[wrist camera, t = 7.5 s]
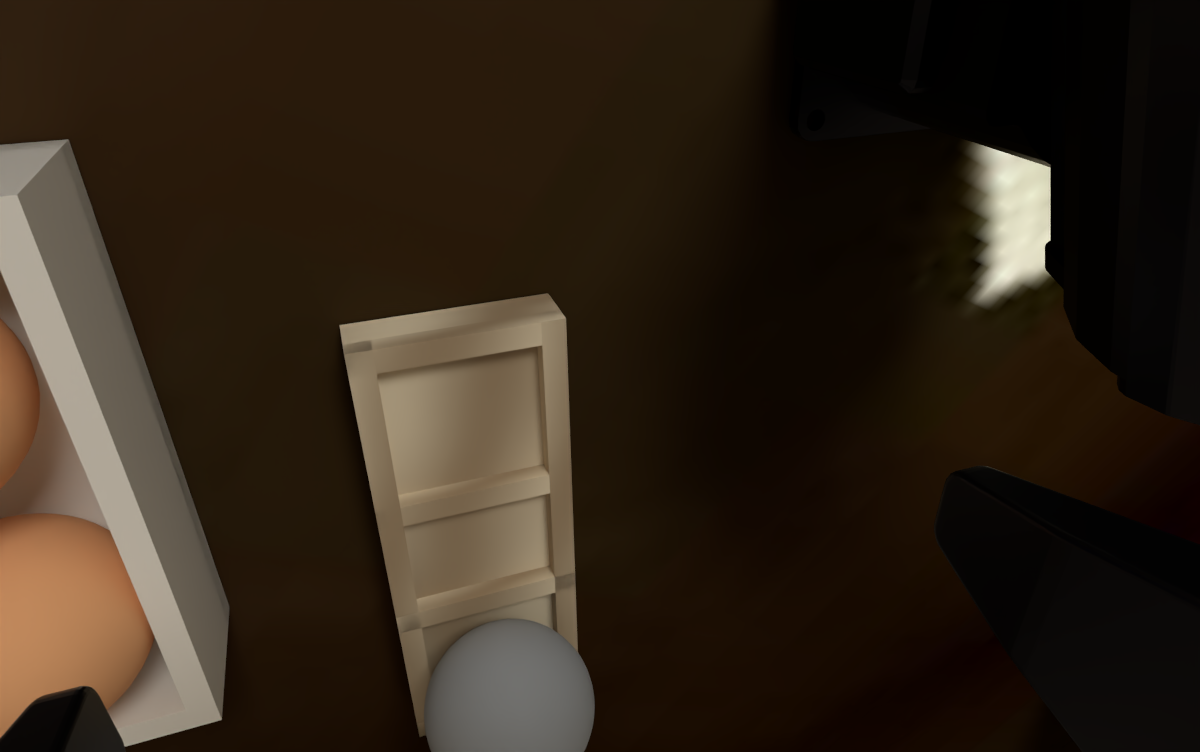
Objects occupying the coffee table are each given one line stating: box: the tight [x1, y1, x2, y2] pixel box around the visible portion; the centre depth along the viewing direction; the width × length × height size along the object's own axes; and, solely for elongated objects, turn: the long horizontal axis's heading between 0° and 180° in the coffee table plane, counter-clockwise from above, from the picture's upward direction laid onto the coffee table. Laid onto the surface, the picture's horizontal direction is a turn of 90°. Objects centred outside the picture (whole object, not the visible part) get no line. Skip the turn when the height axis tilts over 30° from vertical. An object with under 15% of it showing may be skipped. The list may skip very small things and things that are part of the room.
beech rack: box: [339, 293, 578, 737], centre depth 22 cm, size 5×13×2 cm, turn 1°
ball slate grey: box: [424, 619, 595, 752], centre depth 22 cm, size 5×5×5 cm
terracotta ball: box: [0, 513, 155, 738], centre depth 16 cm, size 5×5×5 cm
